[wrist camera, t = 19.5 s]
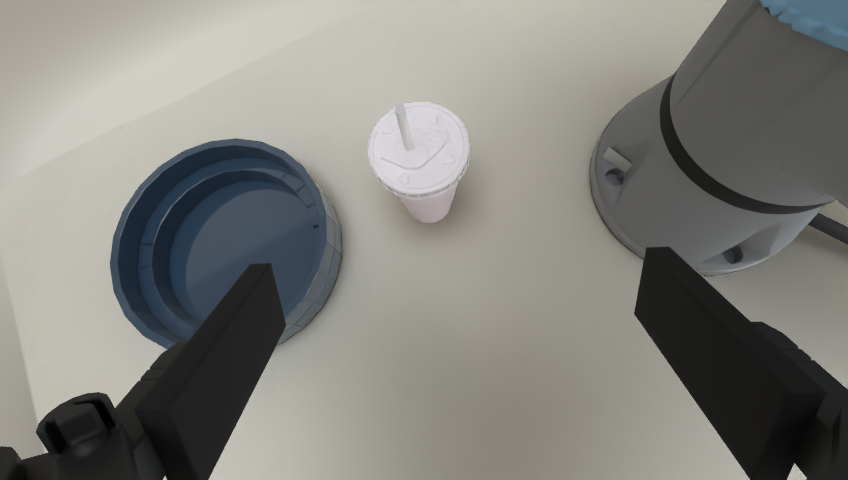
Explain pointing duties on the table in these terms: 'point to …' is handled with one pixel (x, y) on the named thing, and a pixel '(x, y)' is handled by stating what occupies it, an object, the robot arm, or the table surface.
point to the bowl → (222, 238)
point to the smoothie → (420, 157)
